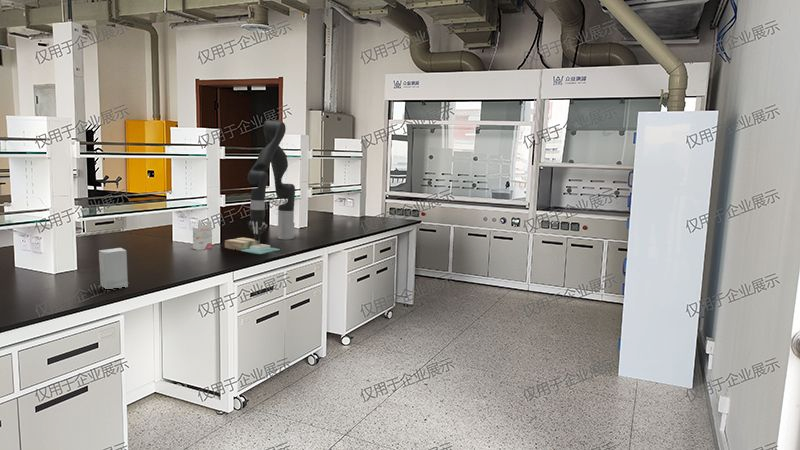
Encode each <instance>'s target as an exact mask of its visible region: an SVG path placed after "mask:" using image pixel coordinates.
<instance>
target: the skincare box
mask: <svg viewBox="0 0 800 450" xmlns="http://www.w3.org/2000/svg"><path fill="white" fill-rule="evenodd" d="M127 254H128V253H127V250H126V249H124V248H122V247H115V248H108V249H100V250H98V261H99V276H100V277H99V278H100V279H99V280H100V282H99V283H100V287H101V286H102V287H104V288H105V289H113V288H119V289H123V288H122V287H125V288H128V287H129V283H128V282H129V281H128V280H129V279H128V256H127ZM113 290H114V289H113Z"/></svg>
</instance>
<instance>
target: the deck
mask: <svg viewBox="0 0 800 450" xmlns="http://www.w3.org/2000/svg"><path fill="white" fill-rule="evenodd" d="M258 244H261V239H260V240H259V241H255V239H254V238H250V237H244V236H243V237H237V238H233V239H226V240H224V248H225V249H229V250H235V249H236V250H235V251H241V250H244V249H249V248H250V246H253V245H258Z"/></svg>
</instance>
